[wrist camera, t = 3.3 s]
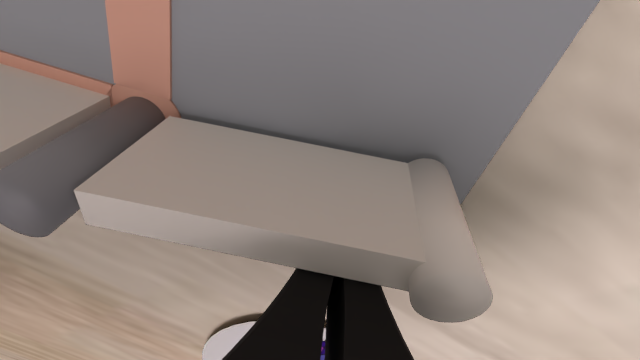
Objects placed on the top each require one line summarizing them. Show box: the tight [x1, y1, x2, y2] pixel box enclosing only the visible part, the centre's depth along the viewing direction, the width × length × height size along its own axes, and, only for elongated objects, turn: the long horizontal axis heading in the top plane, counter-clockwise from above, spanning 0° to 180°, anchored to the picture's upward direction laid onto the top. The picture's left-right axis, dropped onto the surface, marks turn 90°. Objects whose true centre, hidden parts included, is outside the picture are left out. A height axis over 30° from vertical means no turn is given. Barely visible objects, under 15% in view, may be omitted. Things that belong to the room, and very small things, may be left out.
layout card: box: [0, 0, 600, 205], centre depth 9 cm, size 22×14×1 cm, turn 75°
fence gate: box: [74, 116, 493, 322], centre depth 9 cm, size 9×2×4 cm, turn 81°
